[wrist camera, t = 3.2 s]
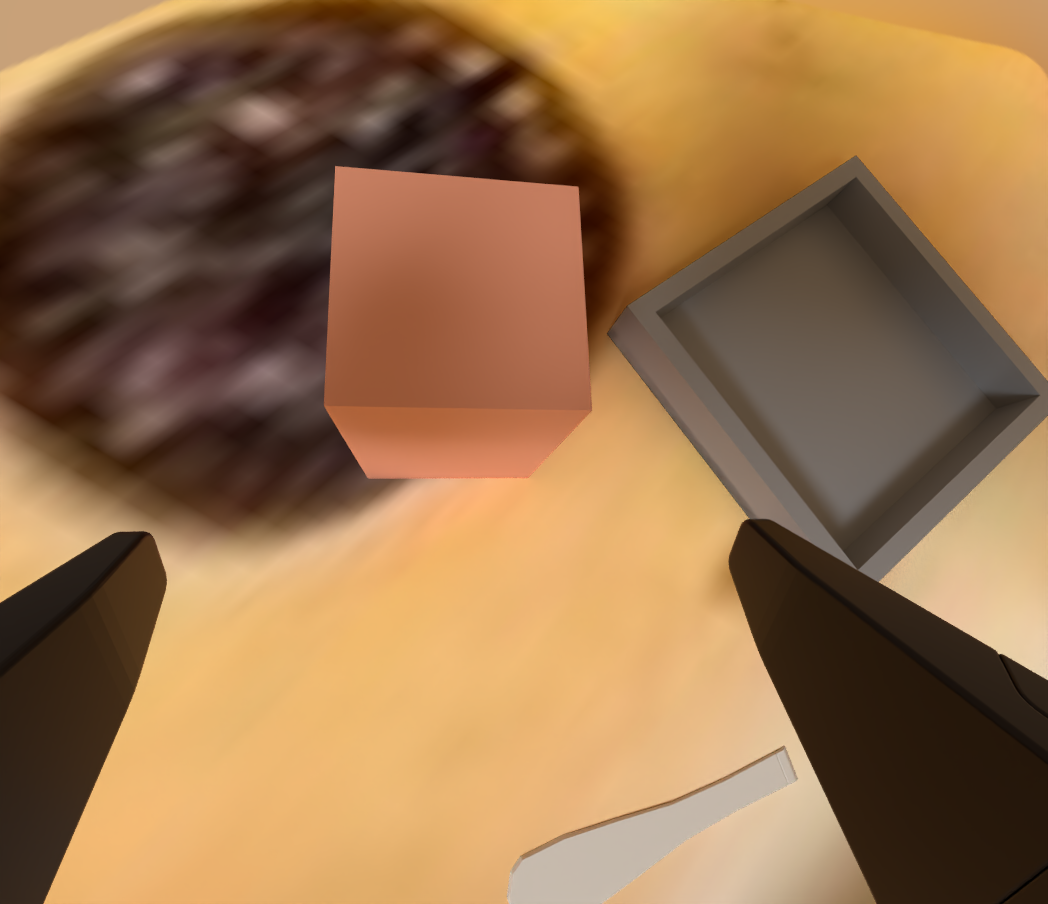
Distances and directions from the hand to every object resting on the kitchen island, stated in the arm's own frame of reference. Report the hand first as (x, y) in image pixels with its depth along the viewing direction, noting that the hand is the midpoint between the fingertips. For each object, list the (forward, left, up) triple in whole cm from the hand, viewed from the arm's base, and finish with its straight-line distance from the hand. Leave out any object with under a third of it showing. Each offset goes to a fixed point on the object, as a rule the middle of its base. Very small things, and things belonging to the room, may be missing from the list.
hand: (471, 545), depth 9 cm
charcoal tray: (-3, -18, -12) cm, 22 cm away
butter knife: (-14, -7, -13) cm, 20 cm away
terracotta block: (+5, -4, -12) cm, 14 cm away
